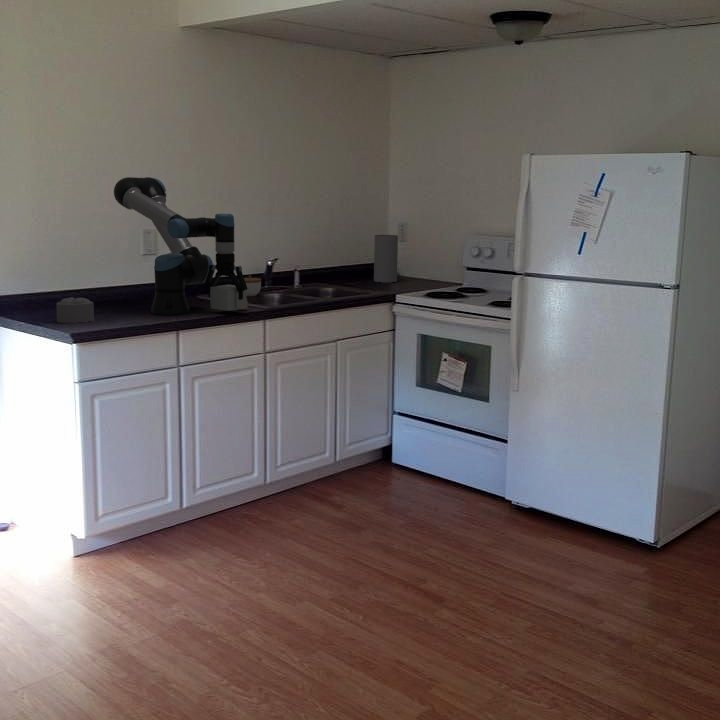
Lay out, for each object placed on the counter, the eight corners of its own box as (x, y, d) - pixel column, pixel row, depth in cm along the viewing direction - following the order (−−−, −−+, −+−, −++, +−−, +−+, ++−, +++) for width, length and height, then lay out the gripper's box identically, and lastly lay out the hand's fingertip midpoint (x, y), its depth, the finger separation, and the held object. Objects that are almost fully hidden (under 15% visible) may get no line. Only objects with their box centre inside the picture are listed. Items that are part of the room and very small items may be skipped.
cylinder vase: (401, 282, 489) (402, 235, 484) (386, 283, 480) (387, 236, 475) (384, 280, 497) (385, 234, 492) (369, 281, 488) (369, 235, 483)
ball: (251, 299, 375) (250, 311, 375) (241, 298, 377) (240, 310, 377) (244, 298, 370) (243, 310, 370) (234, 297, 372) (233, 309, 373)
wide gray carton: (228, 310, 359) (227, 288, 357) (210, 308, 365) (210, 286, 364) (246, 308, 367) (246, 286, 365) (229, 305, 373) (229, 284, 371)
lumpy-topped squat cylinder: (96, 321, 340) (95, 298, 338) (62, 324, 332) (61, 301, 330) (86, 318, 348) (85, 295, 346) (52, 320, 340) (51, 298, 338)
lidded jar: (234, 296, 420) (234, 275, 418) (245, 293, 429) (245, 273, 428) (254, 297, 416) (254, 277, 414) (265, 294, 426) (265, 275, 424)
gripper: (255, 253, 359) (256, 307, 364) (204, 250, 368) (205, 303, 373) (246, 254, 352) (246, 309, 357) (194, 252, 361) (195, 305, 366)
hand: (225, 306), depth 365 cm, fingers closed on wide gray carton, 11 cm apart
